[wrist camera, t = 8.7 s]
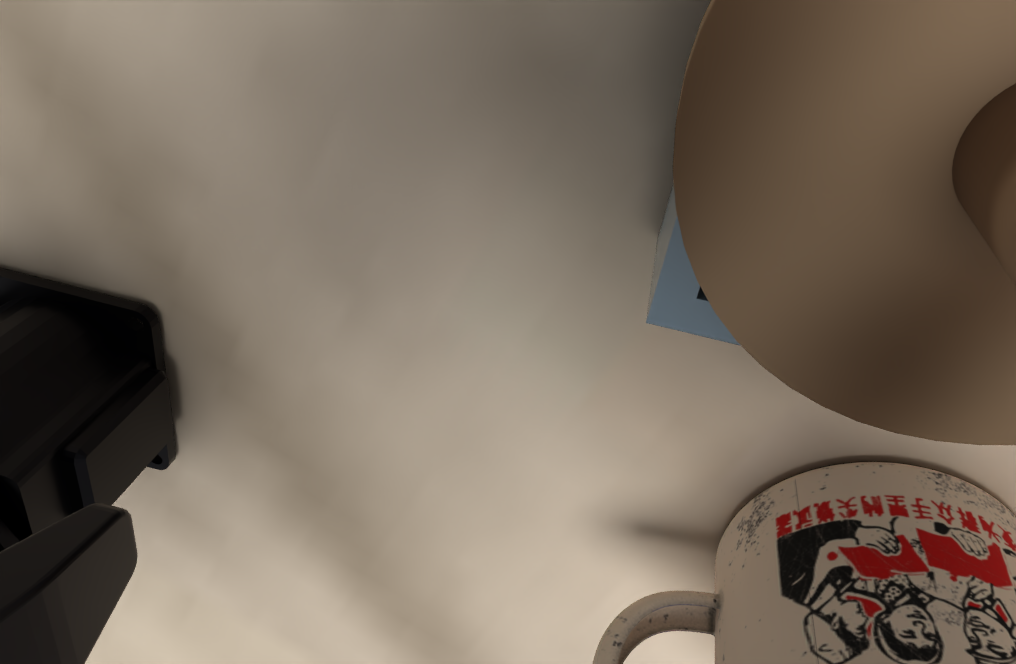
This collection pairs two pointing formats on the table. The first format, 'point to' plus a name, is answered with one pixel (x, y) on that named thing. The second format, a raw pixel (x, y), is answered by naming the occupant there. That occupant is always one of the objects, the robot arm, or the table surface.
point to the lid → (860, 203)
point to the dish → (680, 287)
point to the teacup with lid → (850, 575)
